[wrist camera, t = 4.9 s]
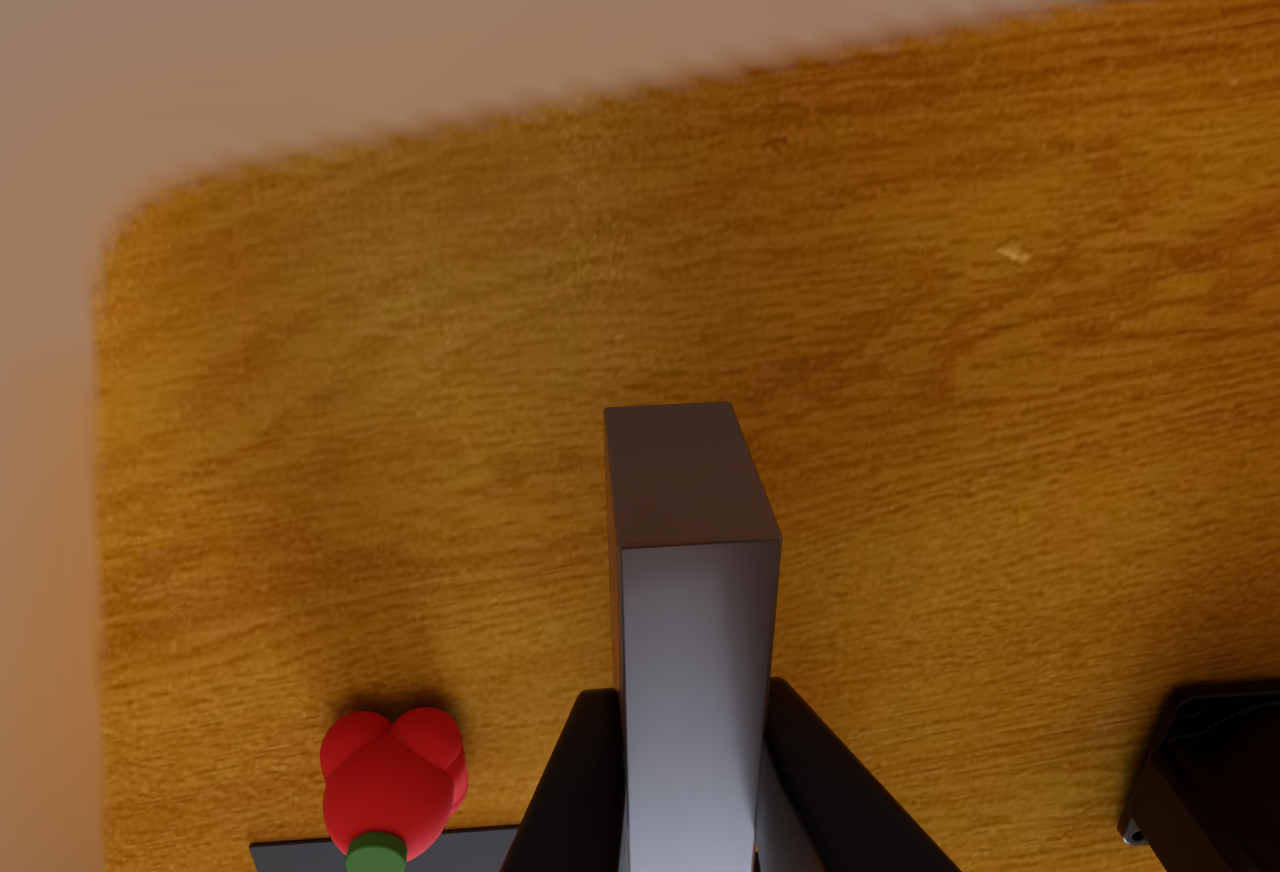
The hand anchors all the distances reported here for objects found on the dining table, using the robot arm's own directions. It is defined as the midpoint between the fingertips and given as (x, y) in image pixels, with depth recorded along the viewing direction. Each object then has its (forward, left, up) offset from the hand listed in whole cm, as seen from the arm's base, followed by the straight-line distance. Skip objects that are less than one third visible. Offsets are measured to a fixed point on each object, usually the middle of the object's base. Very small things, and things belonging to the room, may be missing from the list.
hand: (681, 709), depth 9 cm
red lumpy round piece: (+6, +11, -10) cm, 17 cm away
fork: (0, +4, -2) cm, 4 cm away
